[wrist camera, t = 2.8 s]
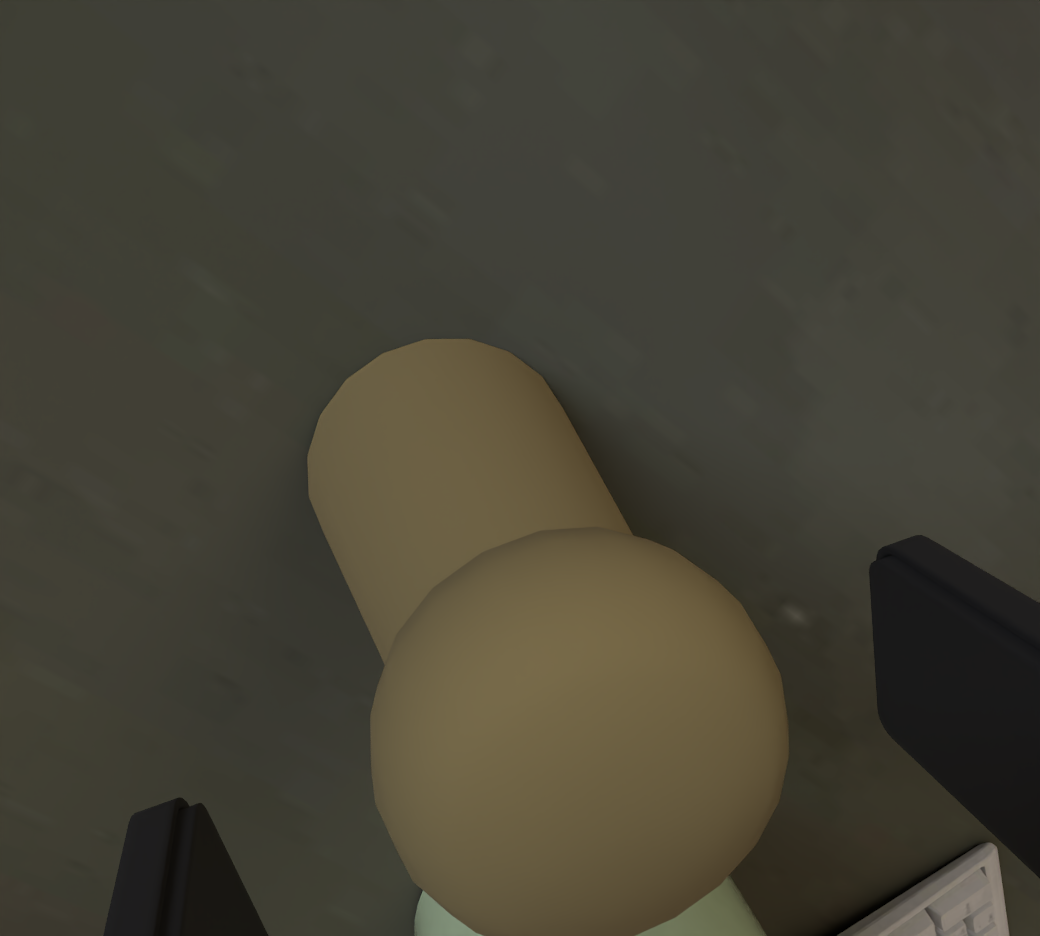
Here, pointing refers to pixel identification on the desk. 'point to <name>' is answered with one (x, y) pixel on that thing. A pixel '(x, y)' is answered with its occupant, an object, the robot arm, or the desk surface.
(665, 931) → the canister
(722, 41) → the desk surface
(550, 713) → the brown tapered tall piece
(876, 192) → the desk surface
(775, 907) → the desk surface
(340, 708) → the desk surface
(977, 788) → the robot arm
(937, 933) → the keyboard
